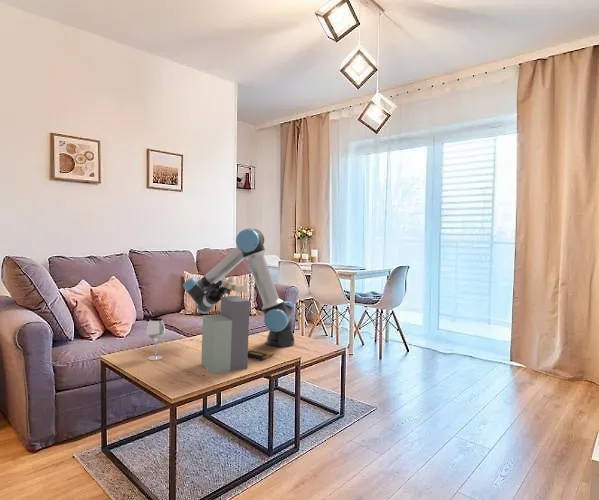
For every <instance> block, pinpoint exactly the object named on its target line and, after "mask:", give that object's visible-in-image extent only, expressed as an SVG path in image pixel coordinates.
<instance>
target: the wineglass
mask: <svg viewBox="0 0 599 500" xmlns="http://www.w3.org/2000/svg"><path fill="white" fill-rule="evenodd" d="M145 333H146V335H147V337H148V339H150V340H152V342H153V343H154V352H153V353H154V355H150V356H149V357H147V360H149V361H159V360H162V359H163V356H162V355H157V345H158V344H157V343H158V342H159V340H161V339H162V338H163V337H164V336H165V335H166V327H165V323H164V319H163V318H160V317H159V318H157V317H155V318H154V317H153V318H150V319H149V321H148V324H147V327H146V331H145Z"/></svg>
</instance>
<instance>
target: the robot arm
mask: <svg viewBox="0 0 599 500" xmlns="http://www.w3.org/2000/svg"><path fill="white" fill-rule="evenodd" d="M235 243H236V247H235V248H234V249H233V250H232V251H230V252H229V253H228V254H227V255H226V256H225V257H224V258H223V259H222V260H221V261H220V262H218V264H216V265H215V266H214V267H213V268H212V269H210V270H209V271H208V272H207V273H206V274H205V275H203V277H202V278H200V279H199V280H198V279H197V278H195V277H190V278H188V279H187V280H186V281H185V282H184V283H183V284H182V285H183V286H182V287H183V288H184V290H185V292H187V294H188V295H189V296H190V298H191V299H192V300H193V301H194V303H195V304H196V309H197V311H198V312H199V313H200V314H208V313H209V312H211V311H212V310H213V309H214V307H215V306H216V305H217V304H218V303H219V302H220V300H221V297H224V296H225V295H226V294H227V295H231V292H232V290H230V289H228V288H225V287H222V286H223V285H224V284H225V283H226V280H227V281H230V282H233V283H235V280H234V276H233V275H231V276H230V277H229V278H228V279H226V276H227V275H228V274H229V273H230V272H231V271H232V270H233V269H234V268H236V267H237V266H238V265H239V264H240V263H242V261H244V260H247V262H248V265H249V268H250V271H251V273H252V276H253V279H254V282H255V284H256V287H257V290H258V292H259V296H260V299H261V301H262V304H263V305H262V307H261V310H262V313H263V315H264V318H263V323H264V325H265V327H266V328H267V329H268V330H269V332H268V334H267V338H266V345H269V346H272V347H279V348H285V347H287V348H288V347H291V346H294V345H295V337H294V333H293V330H292V329H293V310H294V309H293V308H294V307H293V306H294V303H293V302H291V301H285V300H283V299H281V298H280V297H279V294H278V292H277V289H276V285H275V282H274V280H273V277H272V274H271V272H270V269H269V266H268V262H267V260H266V257H265V253H266V249H265V246H264V243H265V236H264V234H263V233H262V232H261V230H259V229H257V228H244V229H242V230H241V231H239V232H238V233H237V235H236V238H235ZM218 280H220V281H218Z"/></svg>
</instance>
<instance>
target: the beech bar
mask: <svg viewBox="0 0 599 500" xmlns="http://www.w3.org/2000/svg"><path fill="white" fill-rule="evenodd" d="M218 281H220V280H218ZM222 287H225V288H228V289H230V290H231V291H234V292H237V293H238V292H239V293H241V292H244V285H242V284H239V283H235V282H230V281H228V279H226V283H225V284H224V285H223V286H222Z"/></svg>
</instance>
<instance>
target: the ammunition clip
mask: <svg viewBox="0 0 599 500" xmlns="http://www.w3.org/2000/svg"><path fill="white" fill-rule="evenodd" d="M274 354H275V352H271V351H268V350H263V349H253V350H248V358H249V359H253V360H257V361H264V360H267V359H268V358H270V357H272V356H273V355H274Z"/></svg>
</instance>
